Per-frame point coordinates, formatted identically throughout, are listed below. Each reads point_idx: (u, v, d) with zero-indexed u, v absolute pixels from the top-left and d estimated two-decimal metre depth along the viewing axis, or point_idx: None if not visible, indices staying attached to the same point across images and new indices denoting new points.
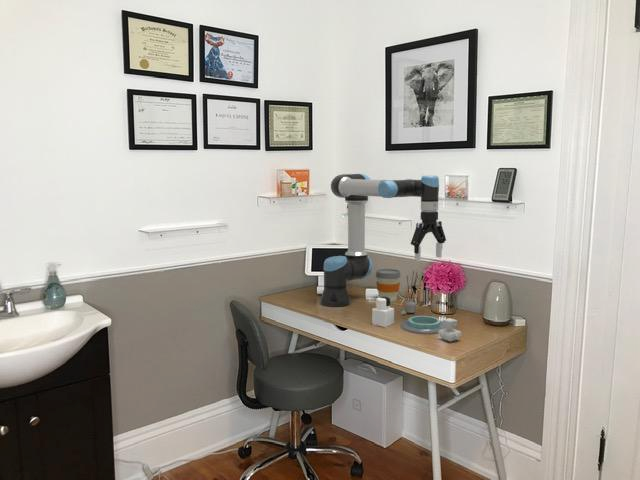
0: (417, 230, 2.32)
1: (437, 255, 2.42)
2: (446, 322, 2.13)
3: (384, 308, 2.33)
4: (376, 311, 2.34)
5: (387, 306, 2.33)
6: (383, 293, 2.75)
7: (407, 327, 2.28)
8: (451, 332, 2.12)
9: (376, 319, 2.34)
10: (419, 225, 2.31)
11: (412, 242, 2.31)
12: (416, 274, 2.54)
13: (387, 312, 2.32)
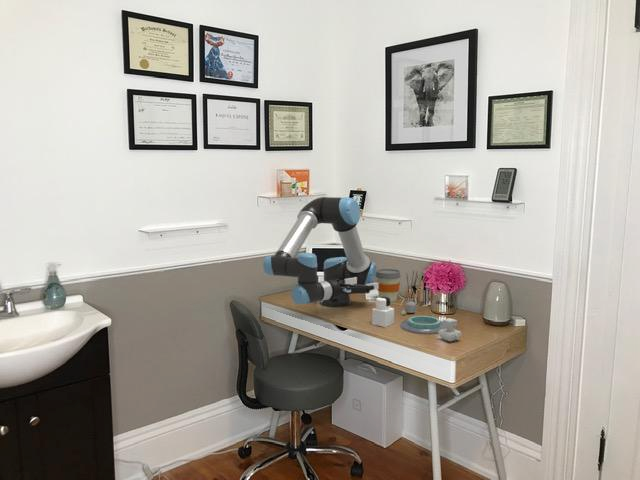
0: None
1: None
2: (446, 322, 2.13)
3: (384, 308, 2.33)
4: (376, 311, 2.34)
5: (387, 306, 2.33)
6: (383, 293, 2.75)
7: (407, 327, 2.28)
8: (451, 332, 2.12)
9: (376, 319, 2.34)
10: None
11: None
12: (416, 274, 2.54)
13: (387, 312, 2.32)
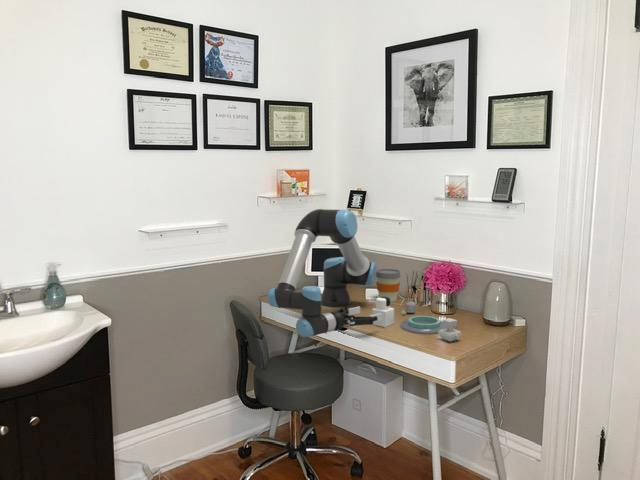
0: None
1: None
2: (446, 322, 2.13)
3: (384, 308, 2.33)
4: (376, 311, 2.34)
5: (387, 306, 2.33)
6: (383, 293, 2.75)
7: (407, 327, 2.28)
8: (451, 332, 2.12)
9: None
10: None
11: None
12: (416, 274, 2.54)
13: (387, 312, 2.32)
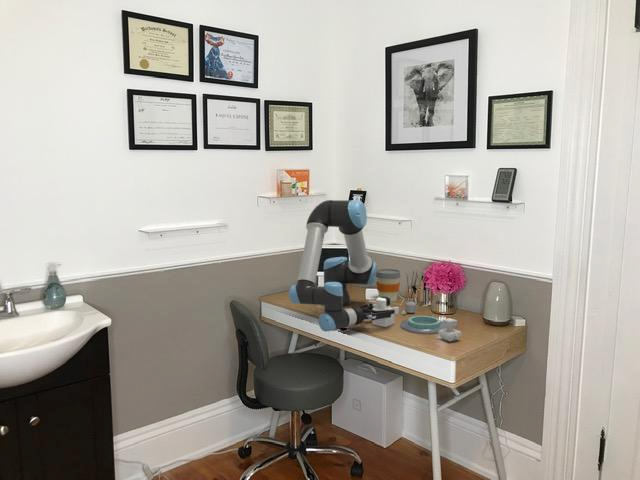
0: None
1: None
2: (446, 322, 2.13)
3: (384, 308, 2.33)
4: None
5: (387, 306, 2.33)
6: (383, 293, 2.75)
7: (407, 327, 2.28)
8: (451, 332, 2.12)
9: (376, 319, 2.34)
10: None
11: None
12: (416, 274, 2.54)
13: None
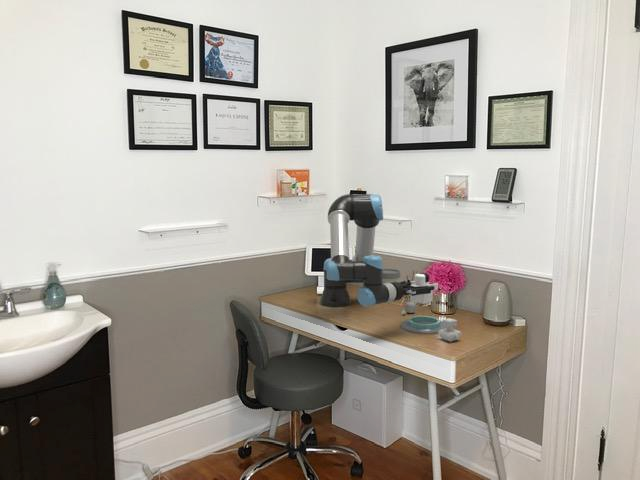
0: None
1: None
2: (446, 322, 2.13)
3: (423, 284, 2.27)
4: None
5: (426, 282, 2.27)
6: None
7: (407, 327, 2.28)
8: (451, 332, 2.12)
9: (415, 296, 2.28)
10: None
11: None
12: None
13: None
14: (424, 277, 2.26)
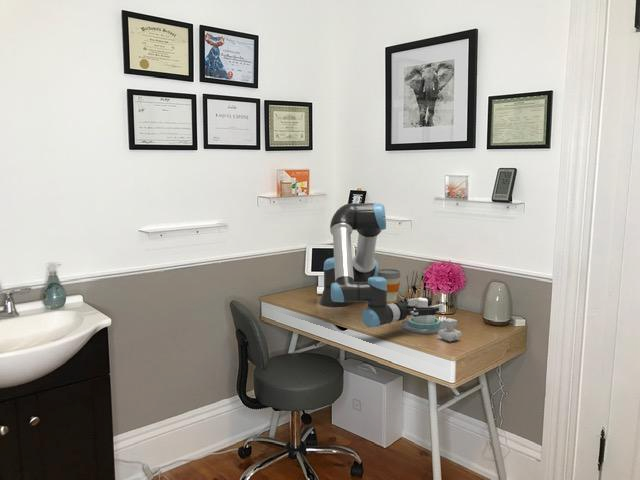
0: None
1: None
2: (446, 322, 2.13)
3: None
4: None
5: (429, 306, 2.28)
6: None
7: (407, 327, 2.28)
8: (451, 332, 2.12)
9: (417, 319, 2.30)
10: None
11: None
12: (416, 274, 2.54)
13: None
14: (426, 301, 2.28)
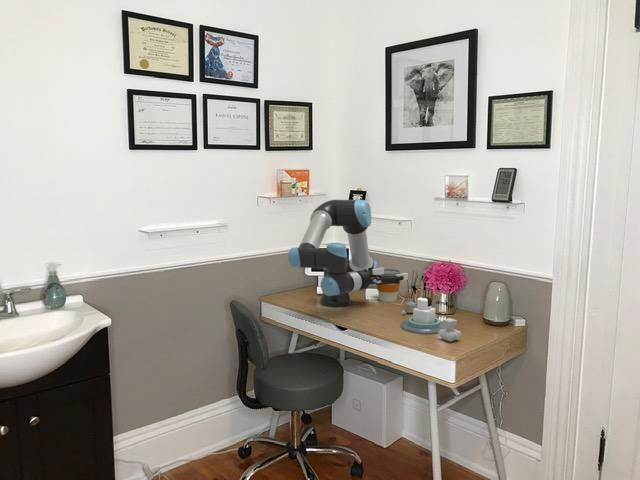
0: None
1: None
2: (446, 322, 2.13)
3: (425, 308, 2.28)
4: (417, 311, 2.30)
5: (428, 306, 2.28)
6: (383, 293, 2.75)
7: (407, 327, 2.28)
8: (451, 332, 2.12)
9: (417, 319, 2.30)
10: None
11: None
12: (416, 274, 2.54)
13: (429, 312, 2.27)
14: (426, 301, 2.28)
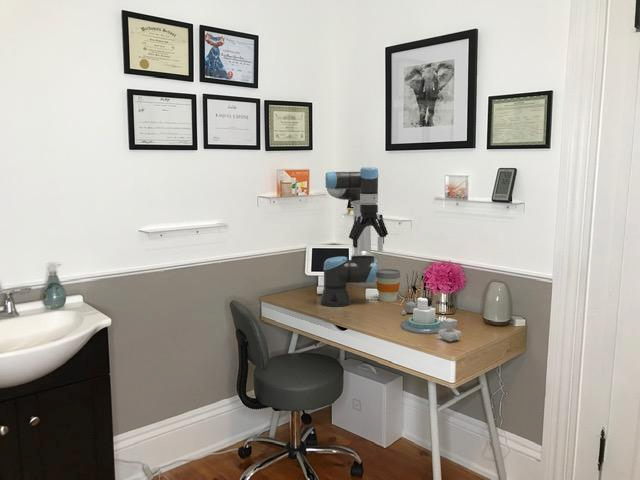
0: (355, 223, 2.25)
1: (379, 249, 2.35)
2: (446, 322, 2.13)
3: (425, 308, 2.28)
4: (417, 311, 2.30)
5: (428, 306, 2.28)
6: (383, 293, 2.75)
7: (407, 327, 2.28)
8: (451, 332, 2.12)
9: (417, 319, 2.30)
10: (357, 218, 2.25)
11: (350, 236, 2.25)
12: (416, 274, 2.54)
13: (429, 312, 2.27)
14: (426, 301, 2.28)
